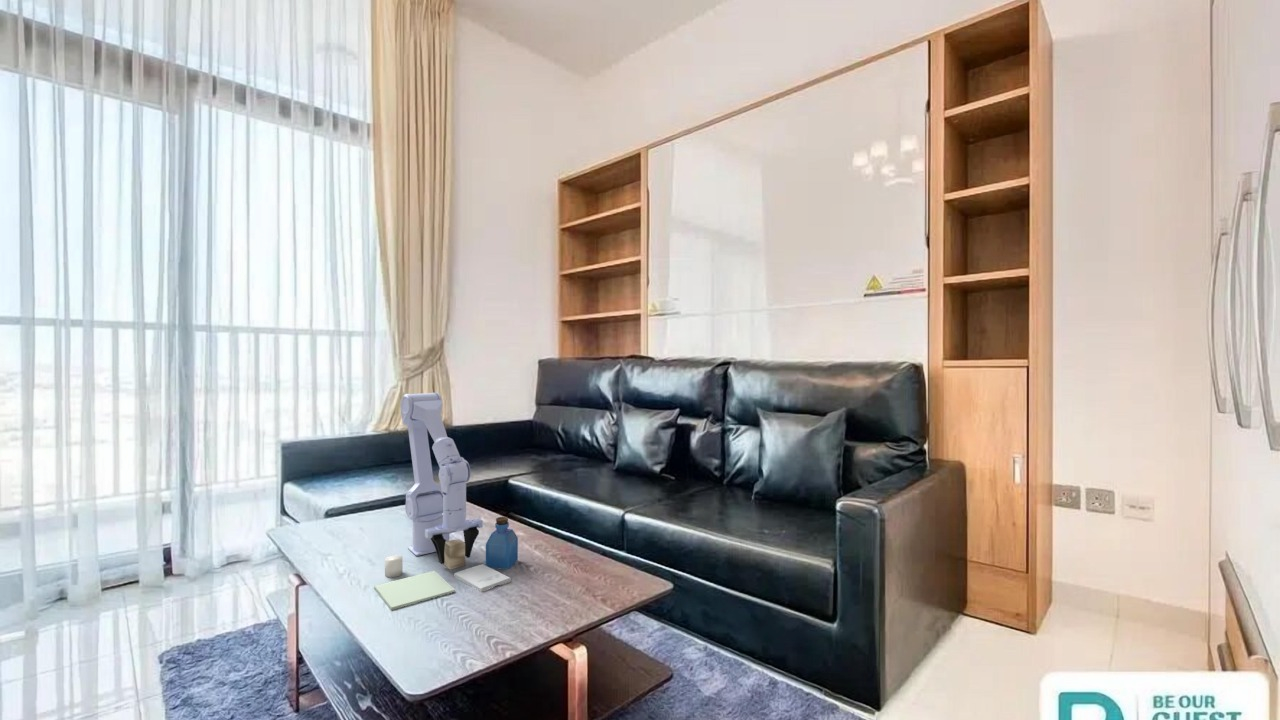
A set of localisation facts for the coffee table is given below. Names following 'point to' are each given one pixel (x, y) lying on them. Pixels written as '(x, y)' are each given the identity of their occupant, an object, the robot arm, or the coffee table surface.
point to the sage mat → (413, 589)
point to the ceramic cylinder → (393, 566)
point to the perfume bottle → (502, 546)
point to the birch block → (454, 553)
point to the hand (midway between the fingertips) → (454, 559)
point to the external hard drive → (482, 577)
